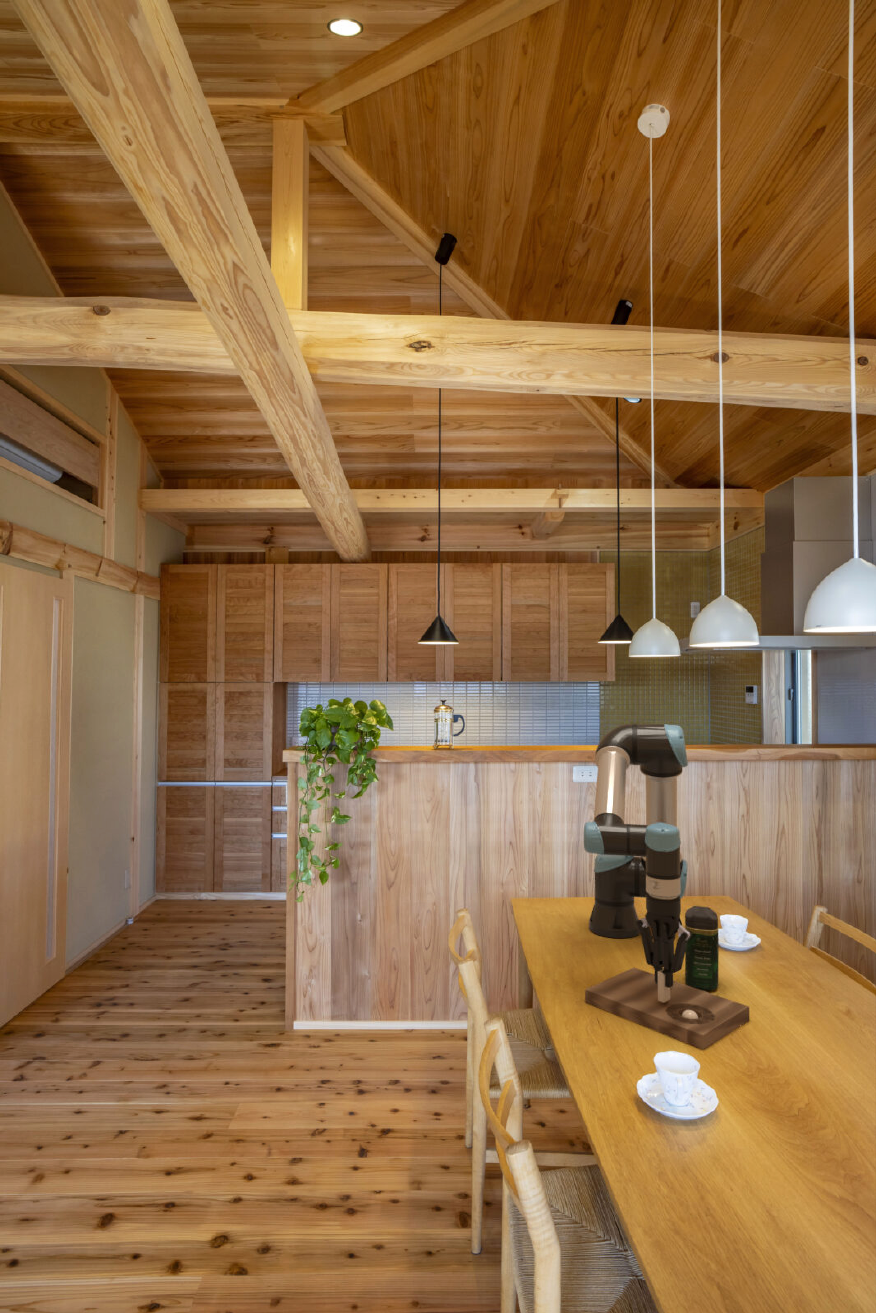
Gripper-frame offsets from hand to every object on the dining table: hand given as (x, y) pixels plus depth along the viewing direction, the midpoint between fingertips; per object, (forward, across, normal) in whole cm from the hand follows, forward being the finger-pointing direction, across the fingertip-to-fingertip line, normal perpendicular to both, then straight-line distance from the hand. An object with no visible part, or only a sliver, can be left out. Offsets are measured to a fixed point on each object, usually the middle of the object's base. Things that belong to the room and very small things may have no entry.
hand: (664, 999), depth 169 cm
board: (+4, -1, +3) cm, 5 cm away
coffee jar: (+4, -3, +23) cm, 23 cm away
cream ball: (+2, +6, 0) cm, 7 cm away
